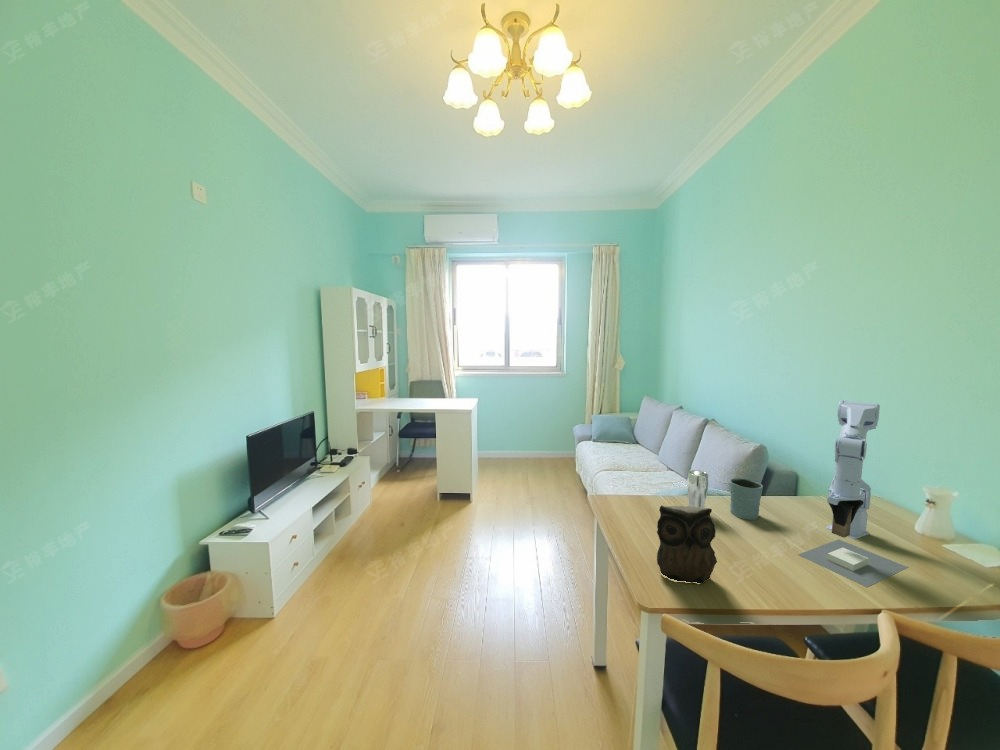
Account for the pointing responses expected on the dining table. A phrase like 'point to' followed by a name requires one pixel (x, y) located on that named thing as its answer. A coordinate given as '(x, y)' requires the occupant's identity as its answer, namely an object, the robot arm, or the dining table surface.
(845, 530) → the block
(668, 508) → the owl
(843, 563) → the tile
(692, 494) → the silver upright cylinder
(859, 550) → the mat
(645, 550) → the dining table surface
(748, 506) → the blue-grey cup
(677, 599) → the dining table surface
